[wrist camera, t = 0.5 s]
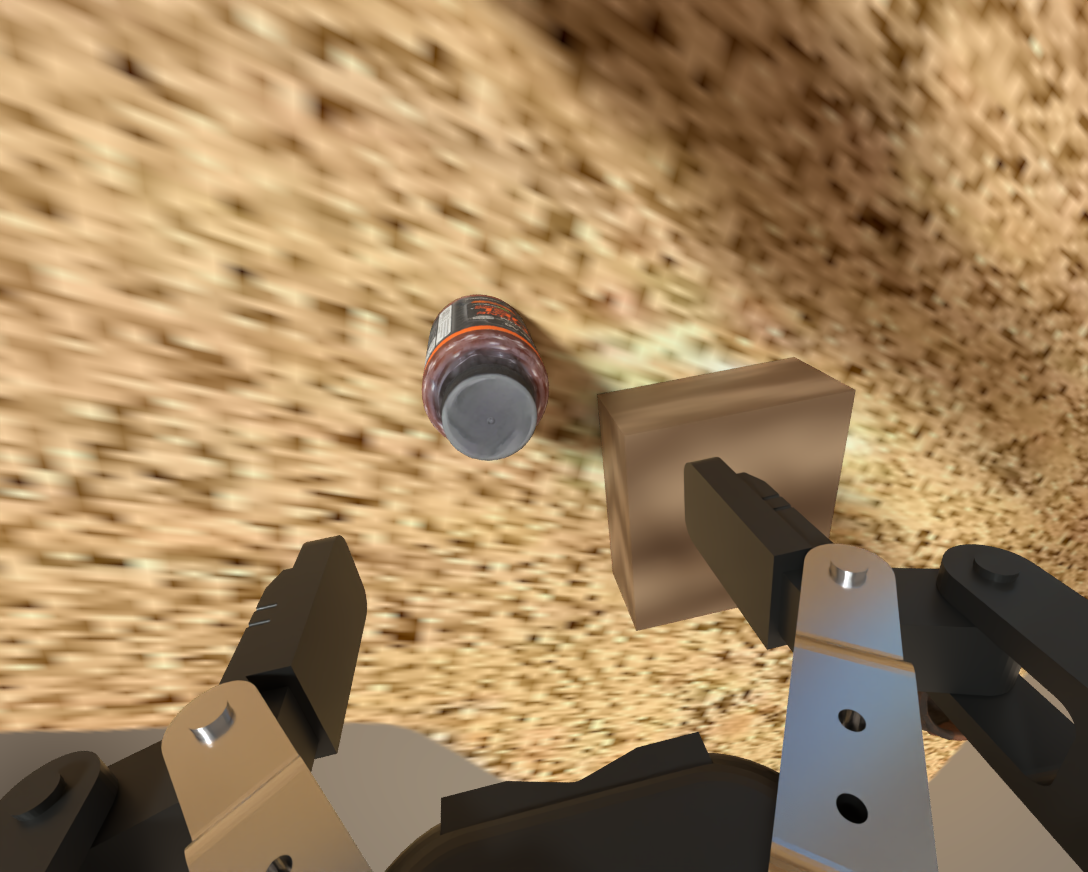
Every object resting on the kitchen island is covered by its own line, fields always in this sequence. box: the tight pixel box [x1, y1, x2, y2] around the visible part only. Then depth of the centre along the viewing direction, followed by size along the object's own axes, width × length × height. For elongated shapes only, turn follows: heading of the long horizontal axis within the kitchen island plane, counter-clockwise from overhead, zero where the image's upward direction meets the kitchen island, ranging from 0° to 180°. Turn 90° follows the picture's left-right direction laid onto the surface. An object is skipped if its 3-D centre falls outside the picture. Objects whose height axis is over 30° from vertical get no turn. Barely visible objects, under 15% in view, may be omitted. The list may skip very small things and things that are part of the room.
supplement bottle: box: [422, 295, 549, 461], centre depth 26 cm, size 6×6×11 cm
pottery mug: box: [917, 691, 967, 741], centre depth 53 cm, size 12×9×8 cm
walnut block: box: [597, 357, 856, 631], centre depth 35 cm, size 16×14×6 cm
